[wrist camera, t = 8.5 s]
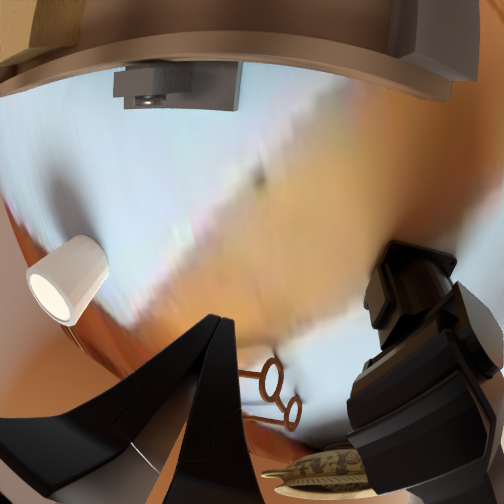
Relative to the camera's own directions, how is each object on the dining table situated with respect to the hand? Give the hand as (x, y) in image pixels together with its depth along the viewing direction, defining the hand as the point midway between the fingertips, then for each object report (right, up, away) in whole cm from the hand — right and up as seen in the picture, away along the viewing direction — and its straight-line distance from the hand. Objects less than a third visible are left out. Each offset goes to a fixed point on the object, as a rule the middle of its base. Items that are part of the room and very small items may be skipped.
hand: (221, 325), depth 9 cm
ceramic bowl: (+18, -34, +32) cm, 50 cm away
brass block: (-12, +18, 0) cm, 21 cm away
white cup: (-16, +2, +17) cm, 24 cm away
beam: (-4, +17, 0) cm, 17 cm away
